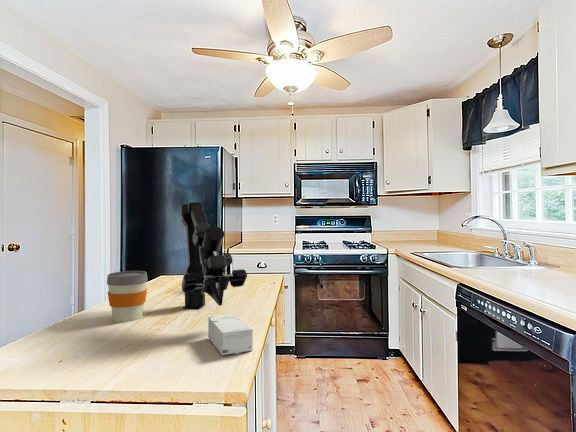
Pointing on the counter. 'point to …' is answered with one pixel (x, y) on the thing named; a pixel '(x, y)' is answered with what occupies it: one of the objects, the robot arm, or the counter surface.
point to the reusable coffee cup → (127, 294)
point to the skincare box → (230, 334)
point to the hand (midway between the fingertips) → (220, 304)
